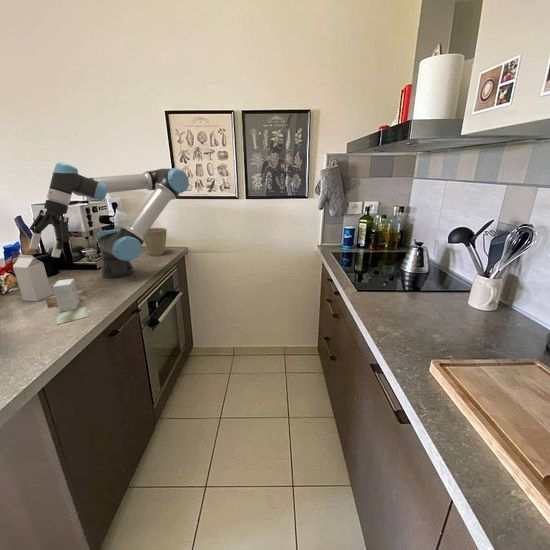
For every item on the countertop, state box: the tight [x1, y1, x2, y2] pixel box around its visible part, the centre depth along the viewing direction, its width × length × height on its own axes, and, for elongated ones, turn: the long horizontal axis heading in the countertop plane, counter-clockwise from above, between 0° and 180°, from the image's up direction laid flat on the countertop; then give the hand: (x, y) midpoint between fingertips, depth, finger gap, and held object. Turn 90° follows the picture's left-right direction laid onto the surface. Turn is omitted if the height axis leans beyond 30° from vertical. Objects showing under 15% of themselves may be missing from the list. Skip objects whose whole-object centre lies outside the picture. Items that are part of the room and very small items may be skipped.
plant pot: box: [143, 227, 168, 257], centre depth 190 cm, size 15×15×16 cm
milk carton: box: [12, 254, 53, 302], centre depth 126 cm, size 7×7×19 cm
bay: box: [44, 289, 90, 326], centre depth 116 cm, size 14×20×4 cm
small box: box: [53, 278, 80, 313], centre depth 118 cm, size 8×6×10 cm
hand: (44, 252), depth 121 cm, fingers open, 13 cm apart
